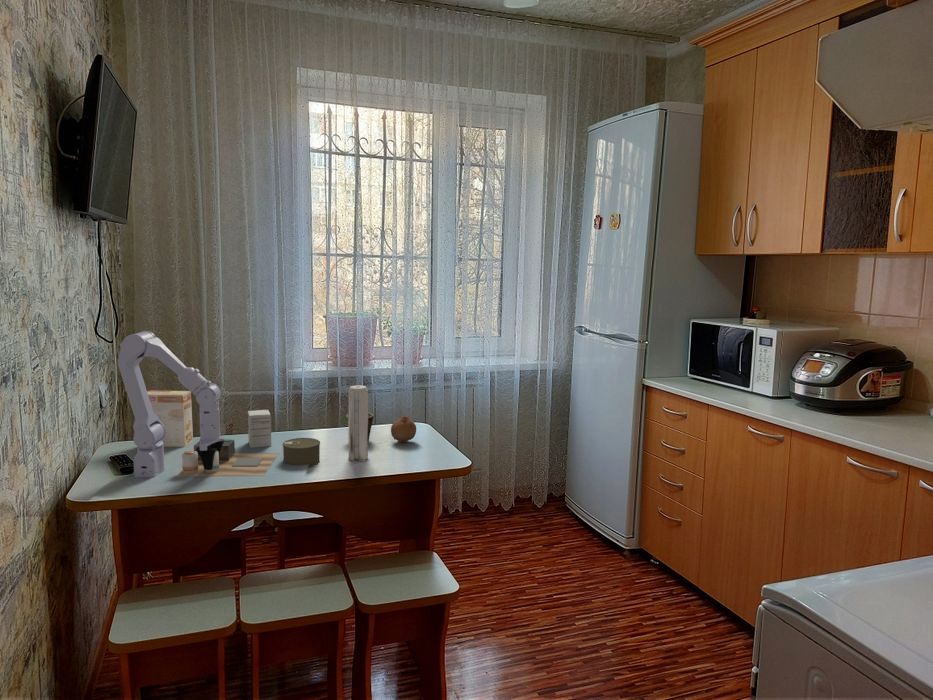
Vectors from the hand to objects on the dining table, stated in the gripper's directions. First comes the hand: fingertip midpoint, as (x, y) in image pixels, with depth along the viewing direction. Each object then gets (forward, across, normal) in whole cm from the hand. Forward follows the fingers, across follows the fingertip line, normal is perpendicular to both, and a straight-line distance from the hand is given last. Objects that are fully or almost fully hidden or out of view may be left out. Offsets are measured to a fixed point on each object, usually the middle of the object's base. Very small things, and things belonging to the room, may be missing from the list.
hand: (211, 466), depth 200 cm
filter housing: (+1, +14, +3) cm, 14 cm away
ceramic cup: (+3, +34, -43) cm, 55 cm away
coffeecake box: (+3, +30, +24) cm, 39 cm away
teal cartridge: (+1, 0, 0) cm, 1 cm away
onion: (+3, +34, -59) cm, 68 cm away
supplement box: (+3, +29, -8) cm, 30 cm away
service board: (+2, +6, -4) cm, 8 cm away
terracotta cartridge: (+1, -1, +6) cm, 6 cm away
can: (+3, +11, -26) cm, 28 cm away
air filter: (+3, +15, -44) cm, 47 cm away
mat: (+1, +8, -9) cm, 12 cm away
